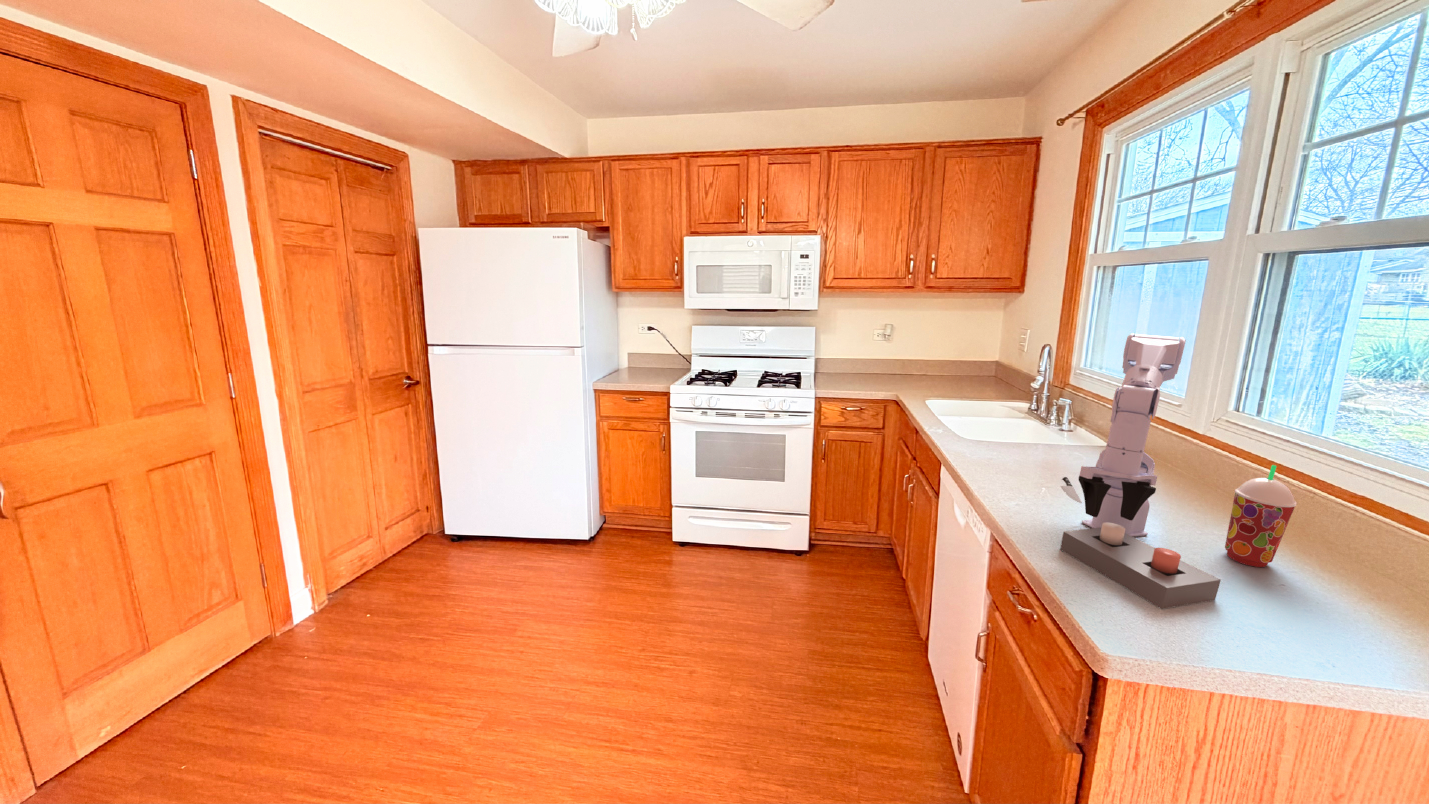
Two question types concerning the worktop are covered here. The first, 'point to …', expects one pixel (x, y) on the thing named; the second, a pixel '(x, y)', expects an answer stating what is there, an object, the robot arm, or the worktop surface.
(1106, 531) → the beige button
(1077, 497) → the chef's knife
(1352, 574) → the worktop surface
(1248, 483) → the smoothie
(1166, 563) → the red button
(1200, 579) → the block
